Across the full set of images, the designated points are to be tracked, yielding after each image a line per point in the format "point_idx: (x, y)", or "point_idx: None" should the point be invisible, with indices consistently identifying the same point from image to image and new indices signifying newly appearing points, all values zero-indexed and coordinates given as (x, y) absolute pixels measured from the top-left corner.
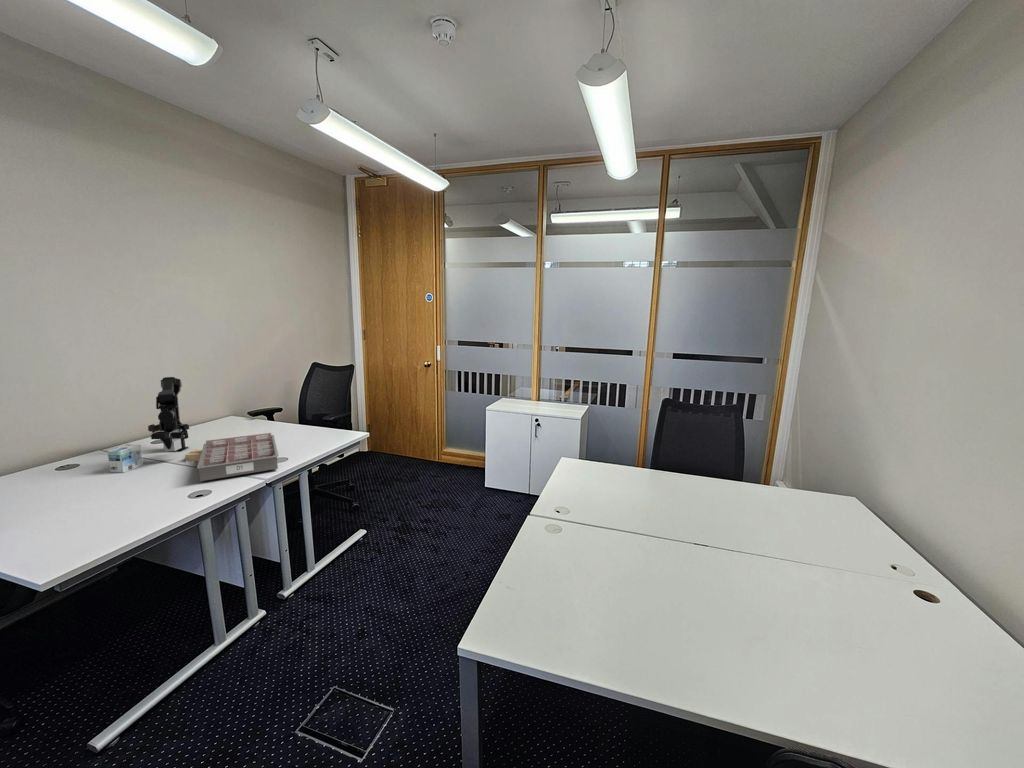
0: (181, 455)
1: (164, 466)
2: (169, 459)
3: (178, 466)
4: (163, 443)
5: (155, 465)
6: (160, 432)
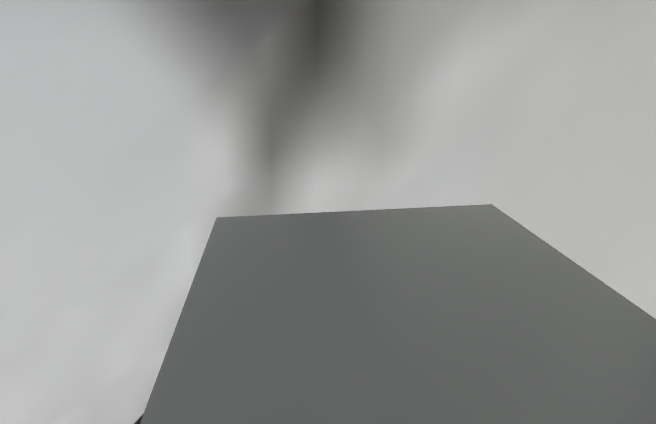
0: (576, 138)
1: (95, 236)
2: (406, 83)
3: (124, 399)
4: (157, 395)
5: (114, 61)
6: None
